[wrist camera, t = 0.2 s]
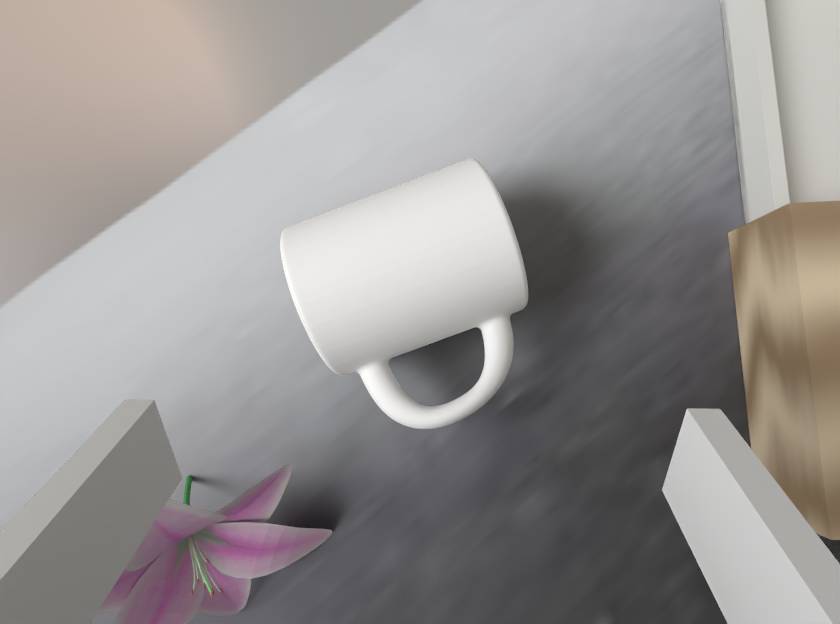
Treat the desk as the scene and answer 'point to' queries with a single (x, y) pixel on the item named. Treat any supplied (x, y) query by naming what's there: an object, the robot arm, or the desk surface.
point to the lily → (208, 557)
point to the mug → (410, 283)
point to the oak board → (793, 351)
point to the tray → (784, 100)
